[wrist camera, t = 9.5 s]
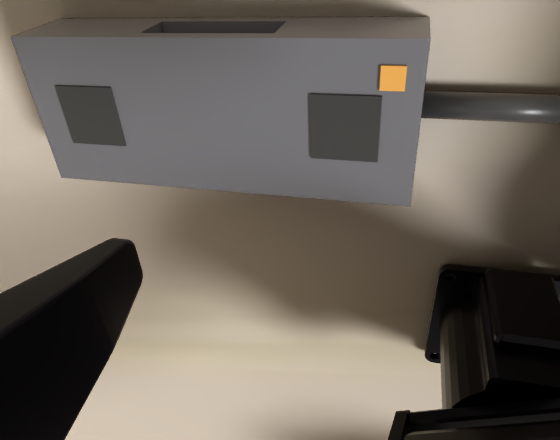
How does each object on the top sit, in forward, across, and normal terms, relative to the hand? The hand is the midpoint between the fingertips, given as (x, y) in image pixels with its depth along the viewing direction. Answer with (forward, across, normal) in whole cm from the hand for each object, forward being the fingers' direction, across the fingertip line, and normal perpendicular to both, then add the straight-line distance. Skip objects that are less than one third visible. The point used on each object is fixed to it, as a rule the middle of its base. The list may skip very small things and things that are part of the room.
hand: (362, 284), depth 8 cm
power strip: (+12, +3, +1) cm, 12 cm away
